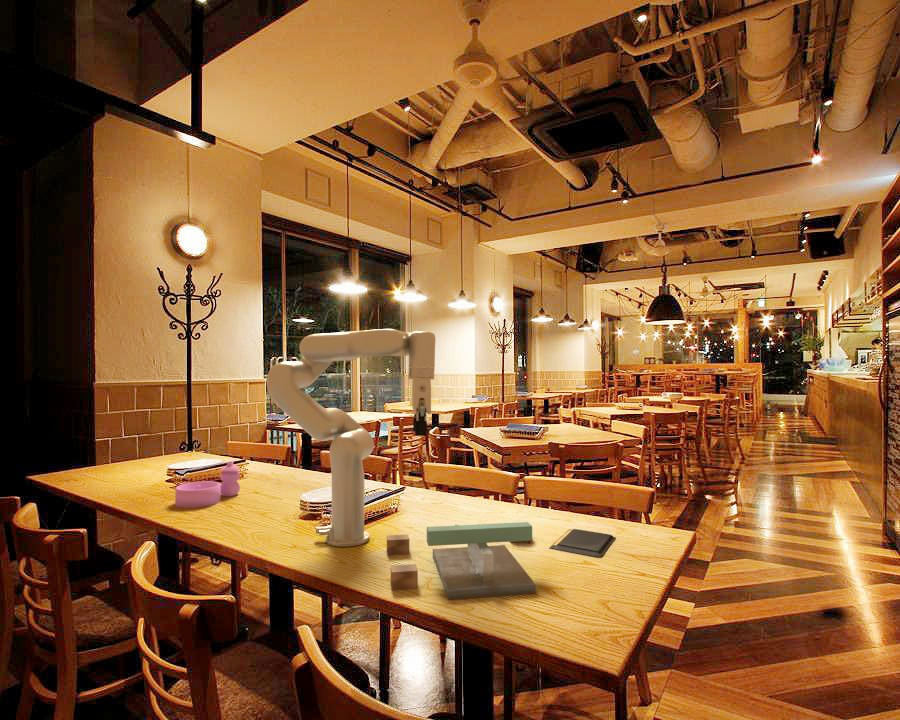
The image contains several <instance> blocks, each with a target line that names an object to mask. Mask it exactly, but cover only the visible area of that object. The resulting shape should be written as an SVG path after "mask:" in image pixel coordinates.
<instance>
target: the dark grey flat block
mask: <svg viewBox="0 0 900 720" xmlns="http://www.w3.org/2000/svg"><path fill="white" fill-rule="evenodd" d="M616 540H617V537H615V536H613V534H608V533H603V532H597V531H592V530H591V531H590V530H586V529H585V530H583V529H578V528H577V529H576V528H573V529H568V530H567V531H565V533H563V534H562V535H561V536H560V537H559V538H558V539H557V540H556V541H555V542H554V543H553V544H552V545H550V547H549V548H548V549H549V550H556V551H559V552H564V553H569V554H573V555H574V554H575V555H579V556H585V557H591V558H596V559H602V558H603V557H604V556H605V554H606V553H607V552H608V550H609V549H610V547H611V546H612V545H613V544H614V543H615V541H616Z"/></svg>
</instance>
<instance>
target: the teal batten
mask: <svg viewBox="0 0 900 720" xmlns="http://www.w3.org/2000/svg"><path fill="white" fill-rule="evenodd" d="M455 525H456V526H455ZM455 525H444V526H443V525H442V526H441V525H440V526H426V542H427V543H426V544H427V546H428V547H436V546H437V547H438V546H451V545H453V546H454V545H457V546H458V545H468V544H475V543H486V544H487V543H488V544H489V543H506V542H508V543H509V542H523V541H529V540H532V541H533V526H532V524H530V522H529V521H523V522H521V521H519V522H518V521H517V522H502V523H500V522H499V523H481V524H479V523H477V524H476V523H475V524H460V525H459V524H455Z"/></svg>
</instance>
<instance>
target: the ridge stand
mask: <svg viewBox="0 0 900 720" xmlns="http://www.w3.org/2000/svg"><path fill="white" fill-rule="evenodd" d="M432 559H433V561H434V565H435V564H436V565H435V567H436V569H437V572H438V576H439V578H440V580H441V583H442V587H443V589H444V592H445V595H446V597H447V600H448V601H453V600H454V599H456V600H467V598H470V599H481V598H482V597H483V598H495V597H494V596H497V597H506V596H509V597H510V595H511V596H522V595H533V594H534V595H535V594H537V584H536V583H535V582H534V580H533V579H532V578H531V576H530V575H529V574H528V573H527V571H526V570H525V569H524V568H523V566H522V565H521V564H520V563H519V562H518V560H517V559H516V558H515V556H514V555H513V554H512V553H511V552H510V550H509V549H508V547H506V545H504V544H499V545H497V544H496V545H488V544H487V543H475V544H467V546H466V547H465V546H464V547H463V546H461V547H446V548H432Z"/></svg>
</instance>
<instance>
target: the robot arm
mask: <svg viewBox="0 0 900 720" xmlns="http://www.w3.org/2000/svg"><path fill="white" fill-rule="evenodd" d="M299 352H300V355H301V358H300V359H299V360H298V361H291V360H290V361H289V360H288V361H287V360H286V361H280V362H277V363H276V364H274V365H273V366H271V367H270V369H269V371H268V373H267V377H266V388H267V392H268V395H269V397H270V399H271V400H272V402H273V403H274V404H275V405H276V406H277V407H278V408H279V409H280V410H281V411H282V412H283V413H284V414H286V415H287V416H289V417H290V419H292V420H293V421H294V423H296V424H297V425H298V426H299V427H300V428H301V429H303V430H304V432H306V433H307V434H308V435H309V436H311V438H313V439H314V440H315V441H319V442H324V441H325V442H326V441H330V440H332V442H331V443H330V447H329V462H330V468H331V469H330V471H331V522H330V525H327V526H316V528H315V534H316V535H319V536H326V537H325V542H326V544H328V545H330V546H333V547H339V548H340V547H341V548H344V547H345V548H346V547H347V548H348V547H354V546H360V545H362V544H365V543H367V542H368V541H369V540H370V533H369V532H368V531H365V470H364V465H363V460H366V459H367V458H368V457H369V456H370V455H371V454H372V452H373V451H374V448H375V442H374V441H375V440H374V438H373V436H372V435H371V433H369V431H367V429H366V428H364V427H363V425H361V424H359V423H358V421H357V420H355V419H354V418H353V417H352V416H350V415H349V414H348V413H347V412H346V411H344V410H342V409H340V408H338V407H337V408H336V407H328V408H327V407H326V408H325V407H324V406H323V405H321V404H320V403H319V402H317V401H316V400H315V399H314V398H313V397H312V396H311V395H309V394H307V393H306V392H304V391H303V390H301V389H305V388H308V387H310V386H311V385H312V384H313V383H314V382H315V381H317V379H318V378H319V377H320V376H321V375H322V374H323V373H324V372H325V371H326V370H327V369H328V367H330V366H331V364H332V363H333V362H341V361H342V362H345V361H354V360H357V359H359V358H366V357H378V356H379V357H380V356H382V357H383V356H389V357H390V356H391V357H406V356H407V357H408V378H407V379H408V380H411V381H412V385H411V404H412V405H411V407H412V412H413V413H414V414H413V415H414V417H413V421H412V423H413V424H412V431H413V432H414V435H415V436H416V437H418V436H419V437H421V436H422V437H424V436H425V437H426V436H427V435H428V421H427V419H428V418H427V414H428V415H431V414H432V381H433V380H435V365H436V335H435V334H434V332H431V331H424V330H423V331H422V330H421V331H413V332H406V331H402V330H398V329H394V328H382V329H379V328H378V329H369V330H358V331H357V330H355V331H344V332H343V331H341V332H330V333H329V332H327V333H313V334H309V335H307V336H305V337H304V338H302V339H301V341H300V343H299Z"/></svg>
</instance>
